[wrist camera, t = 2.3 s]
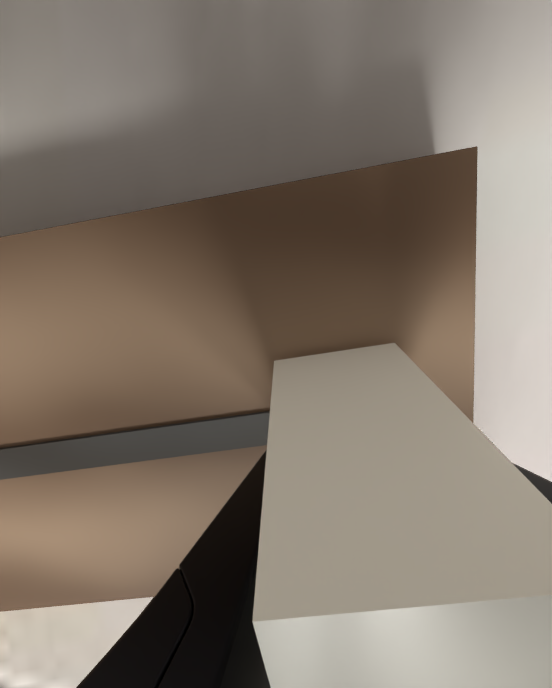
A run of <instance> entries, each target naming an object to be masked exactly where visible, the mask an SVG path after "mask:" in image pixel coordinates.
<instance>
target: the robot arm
mask: <svg viewBox="0 0 552 688" xmlns="http://www.w3.org/2000/svg"><path fill="white" fill-rule="evenodd" d="M266 452H267V450H266V451H265V452H264V453H263V455H262V456H261V457H260V459H259V460H258V461H257V463H256V464H255V465H254V467H253V468H252V469H251V471H250V472H249V473H248V475H247V476H246V477H245V479H244V480H243V481H242V482H241V484H240V485H239V486H238V488H237V489H236V490H235V492H234V493H233V494H232V496H231V497H230V498H229V500H228V501H227V502H226V504H225V505H224V506H223V508H222V509H221V510H220V511H219V513H218V514H217V515H216V517H215V518H214V519H213V521H212V522H211V523H210V525H209V526H208V527H207V529H206V530H205V531H204V533H203V534H202V535H201V537H200V538H199V539H198V541H197V542H196V543H195V544H194V546H193V547H192V548H191V550H190V551H189V552H188V554H187V555H186V556H185V558H184V559H183V560H182V562H181V563H180V564H179V568H177V569H175V571H174V572H173V573H172V575H171V576H170V577H169V579H168V580H167V581H166V582H165V584H164V585H163V586H162V588H161V589H160V590H159V591H158V593H157V594H156V595H155V597H154V598H153V599H152V600H151V602H150V603H149V604H148V605H147V607H146V608H145V609H144V610H143V612H142V613H141V614H140V615H139V617H138V618H137V619H136V620H135V621H134V622H133V624H132V625H131V626H130V627H129V628H128V629H127V631H126V632H125V633H124V634H123V635H122V636H121V638H120V639H119V640H118V641H117V642H116V643H115V645H114V646H113V647H112V648H111V649H110V650H109V652H108V653H107V654H106V655H105V656H104V657H103V658H102V659H101V661H100V662H99V663H98V664H97V665H96V666H95V667H94V668H93V669H92V671H91V672H90V673H89V674H88V675H87V676H86V677H85V678H84V680H83V681H82V682H81V683H80V684H79V685H78V686H77V687H76V688H271V687H270V683H269V680H268V676H267V673H266V669H265V665H264V662H263V658H262V655H261V651H260V647H259V644H258V640H257V637H256V633H255V630H254V626H253V622H252V620H253V608H254V596H255V584H256V572H257V560H258V548H259V536H260V524H261V512H262V500H263V488H264V476H265V464H266ZM512 464H513V463H512ZM513 465H514V466H515V467H516V468H517V469H518V470H519V471H520V472H521V473H522V474H523V475H524V476H525V477H526V478H527V479H528V480H529V481H530V482H531V483H532V484H533V485H534V486H535V487H536V488H537V489H538V490H539V491H540V492H541V493H542V494H543V495H544V496H545V497H546V498H547V499H548V500H549V501H550V502H551V504H552V482H551V481H549V480H547V479H544V478H542V477H540V476H538V475H536V474H534V473H532V472H530V471H528V470H526V469H524V468H522V467H520V466H518V465H516V464H513Z"/></svg>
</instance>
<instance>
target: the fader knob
mask: <svg viewBox="0 0 552 688" xmlns="http://www.w3.org/2000/svg"><path fill="white" fill-rule="evenodd" d="M252 622H253V626H254V630H255V633H256V637H257V640H258V644H259V647H260V651H261V655H262V658H263V662H264V665H265V669H266V673H267V676H268V680H269V683H270V687H271V688H552V504H551V502H550V501H549V500H548V499H547V498H546V497H545V496H544V495H543V494H542V493H541V492H540V491H539V490H538V489H537V488H536V487H535V486H534V485H533V484H532V483H531V482H530V481H529V480H528V479H527V478H526V477H525V476H524V475H523V474H522V473H521V472H520V471H519V470H518V469H517V468H516V467H515V466H514V465H513V464H512V463H511V461H510V460H509V459H508V458H507V457H506V456H505V455H504V454H503V453H502V452H501V451H500V450H499V449H498V448H497V447H496V446H495V445H494V444H493V443H492V442H491V441H490V440H489V439H488V438H487V437H486V436H485V435H484V434H483V433H482V432H481V431H480V430H479V429H478V428H477V427H476V426H475V425H474V424H473V423H472V422H471V420H470V419H469V418H468V417H467V416H466V415H465V414H464V413H463V412H462V411H461V410H460V409H459V408H458V407H457V406H456V405H455V404H454V403H453V402H452V401H451V400H450V399H449V398H448V397H447V396H446V395H445V394H444V393H443V392H442V391H441V390H440V389H439V388H438V387H437V386H436V385H435V384H434V383H433V382H432V381H431V380H430V378H429V377H428V376H427V375H426V374H425V373H424V372H423V371H422V370H421V369H420V368H419V367H418V366H417V365H416V364H415V363H414V362H413V361H412V360H411V359H410V358H409V357H408V356H407V355H406V354H405V353H404V352H403V351H402V350H401V349H400V348H399V347H398V346H397V345H396V344H395V343H389V344H382V345H376V346H369V347H362V348H356V349H349V350H342V351H336V352H329V353H322V354H316V355H309V356H302V357H296V358H289V359H282V360H275V361H274V368H273V380H272V392H271V404H270V416H269V428H268V440H267V452H266V464H265V476H264V488H263V500H262V512H261V524H260V536H259V548H258V560H257V572H256V584H255V596H254V608H253V620H252Z"/></svg>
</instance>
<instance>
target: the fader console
mask: <svg viewBox="0 0 552 688" xmlns="http://www.w3.org/2000/svg"><path fill="white" fill-rule="evenodd" d="M476 206H477V147H472V148H466V149H461V150H456V151H451V152H445V153H440V154H435V155H430V156H424V157H419V158H414V159H409V160H403V161H398V162H393V163H388V164H382V165H377V166H372V167H367V168H361V169H356V170H351V171H346V172H340V173H335V174H330V175H325V176H319V177H314V178H309V179H304V180H298V181H293V182H288V183H283V184H277V185H272V186H267V187H261V188H256V189H251V190H246V191H240V192H235V193H230V194H225V195H219V196H214V197H209V198H204V199H198V200H193V201H188V202H183V203H177V204H172V205H167V206H162V207H156V208H151V209H146V210H141V211H135V212H130V213H125V214H120V215H114V216H109V217H104V218H99V219H93V220H88V221H83V222H78V223H72V224H67V225H62V226H56V227H51V228H46V229H41V230H35V231H30V232H25V233H20V234H14V235H9V236H4V237H0V612H1V611H11V610H21V609H32V608H42V607H52V606H62V605H73V604H83V603H93V602H103V601H114V600H124V599H134V598H144V597H155V595H156V594H157V593H158V591H159V590H160V589H161V588H162V586H163V585H164V584H165V582H166V581H167V580H168V579H169V577H170V576H171V575H172V573H173V572H174V571H175V569H177V568H179V564H180V563H181V562H182V560H183V559H184V558H185V556H186V555H187V554H188V552H189V551H190V550H191V548H192V547H193V546H194V544H195V543H196V542H197V541H198V539H199V538H200V537H201V535H202V534H203V533H204V531H205V530H206V529H207V527H208V526H209V525H210V523H211V522H212V521H213V519H214V518H215V517H216V515H217V514H218V513H219V511H220V510H221V509H222V508H223V506H224V505H225V504H226V502H227V501H228V500H229V498H230V497H231V496H232V494H233V493H234V492H235V490H236V489H237V488H238V486H239V485H240V484H241V482H242V481H243V480H244V479H245V477H246V476H247V475H248V473H249V472H250V471H251V469H252V468H253V467H254V465H255V464H256V463H257V461H258V460H259V459H260V457H261V456H262V455H263V453H264V452H265V451H266V450H267V440H268V428H269V416H270V404H271V392H272V380H273V368H274V361H275V360H282V359H289V358H296V357H302V356H309V355H316V354H322V353H329V352H336V351H342V350H349V349H356V348H362V347H369V346H376V345H382V344H389V343H395V344H396V345H397V346H398V347H399V348H400V349H401V350H402V351H403V352H404V353H405V354H406V355H407V356H408V357H409V358H410V359H411V360H412V361H413V362H414V363H415V364H416V365H417V366H418V367H419V368H420V369H421V370H422V371H423V372H424V373H425V374H426V375H427V376H428V377H429V378H430V380H431V381H432V382H433V383H434V384H435V385H436V386H437V387H438V388H439V389H440V390H441V391H442V392H443V393H444V394H445V395H446V396H447V397H448V398H449V399H450V400H451V401H452V402H453V403H454V404H455V405H456V406H457V407H458V408H459V409H460V410H461V411H462V412H463V413H464V414H465V415H466V416H467V417H468V418H469V419H470V420H471V422H472V423H473V402H474V337H475V271H476Z"/></svg>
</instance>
